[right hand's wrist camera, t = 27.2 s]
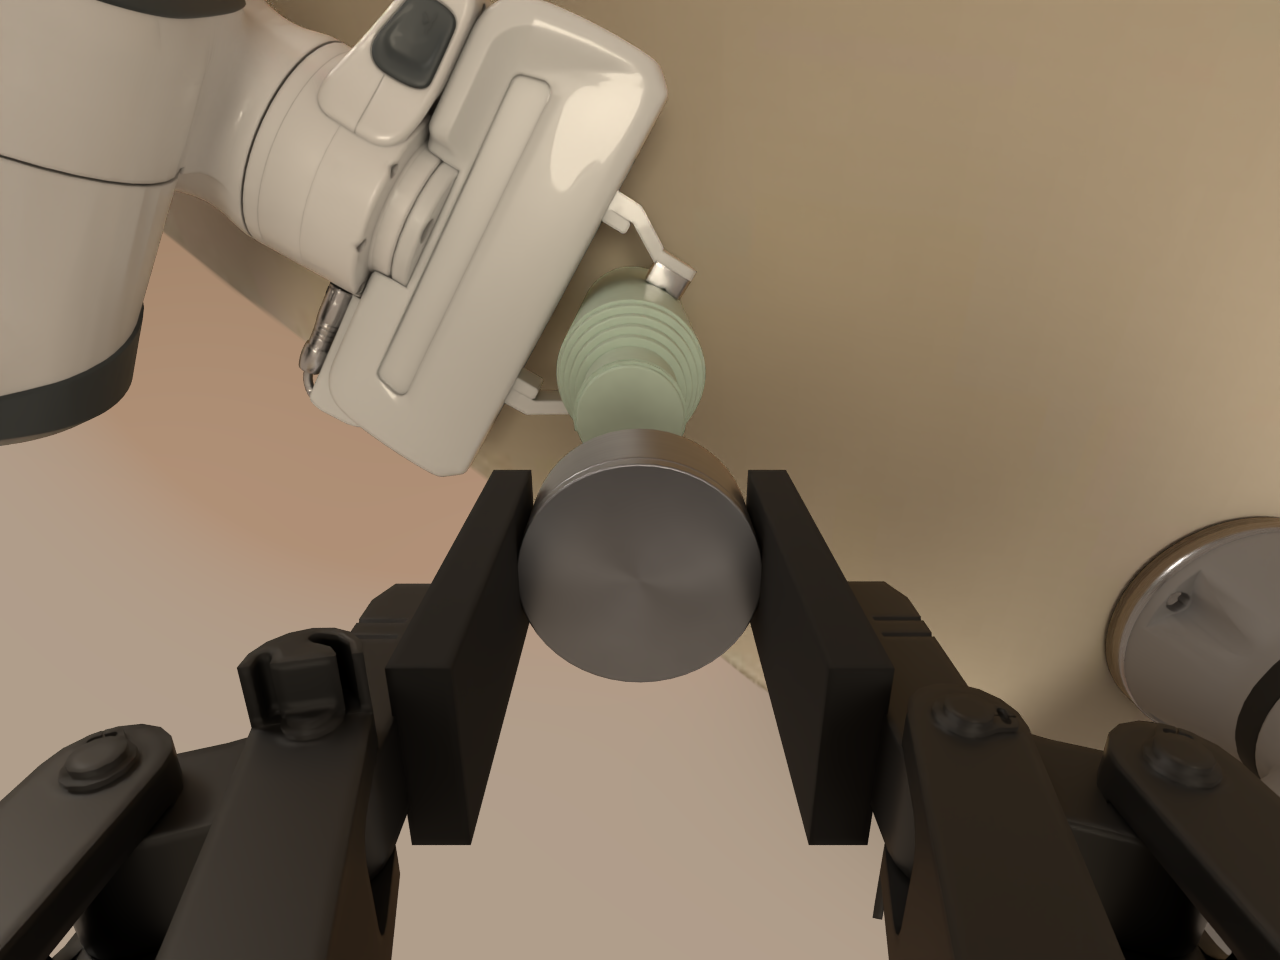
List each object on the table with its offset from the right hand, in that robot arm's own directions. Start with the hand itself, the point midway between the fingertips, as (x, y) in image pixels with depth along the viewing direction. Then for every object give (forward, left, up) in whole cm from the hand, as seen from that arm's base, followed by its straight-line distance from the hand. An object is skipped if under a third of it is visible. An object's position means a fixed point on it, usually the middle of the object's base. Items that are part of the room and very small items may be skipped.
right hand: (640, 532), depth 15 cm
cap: (0, 0, +2) cm, 2 cm away
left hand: (0, 0, -20) cm, 20 cm away
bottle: (0, 0, -26) cm, 26 cm away
